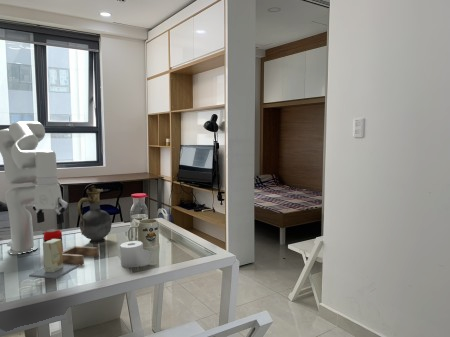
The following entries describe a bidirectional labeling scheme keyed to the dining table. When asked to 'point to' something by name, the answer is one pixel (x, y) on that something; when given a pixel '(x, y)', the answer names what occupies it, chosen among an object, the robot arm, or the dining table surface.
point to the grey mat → (55, 274)
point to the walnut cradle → (78, 254)
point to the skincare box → (53, 255)
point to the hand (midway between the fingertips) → (50, 222)
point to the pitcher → (94, 218)
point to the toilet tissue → (134, 254)
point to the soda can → (53, 235)
